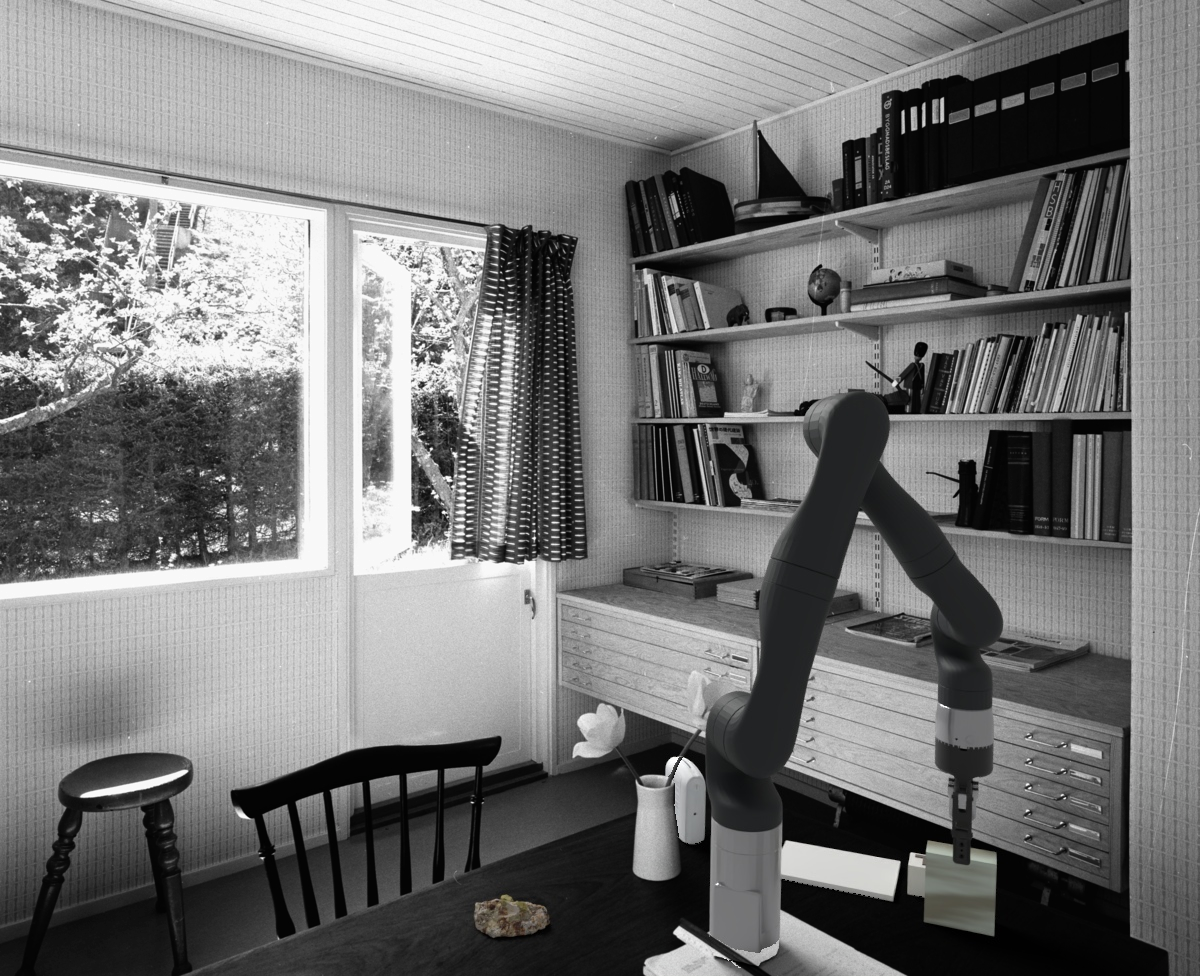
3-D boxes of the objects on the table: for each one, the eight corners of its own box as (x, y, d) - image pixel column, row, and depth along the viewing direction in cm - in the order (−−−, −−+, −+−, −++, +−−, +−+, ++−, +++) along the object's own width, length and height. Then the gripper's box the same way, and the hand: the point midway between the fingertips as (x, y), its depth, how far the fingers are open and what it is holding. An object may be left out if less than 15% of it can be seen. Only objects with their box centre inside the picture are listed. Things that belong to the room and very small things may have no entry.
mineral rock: (465, 923, 121) (479, 879, 129) (466, 949, 122) (480, 904, 130) (544, 931, 120) (554, 887, 127) (545, 957, 121) (554, 911, 129)
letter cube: (939, 901, 132) (940, 869, 132) (907, 894, 134) (908, 863, 134) (941, 887, 137) (942, 856, 136) (909, 881, 138) (910, 851, 138)
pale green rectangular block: (994, 936, 123) (996, 864, 122) (923, 922, 126) (925, 852, 126) (993, 922, 127) (996, 852, 126) (925, 908, 130) (927, 840, 130)
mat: (892, 901, 132) (893, 896, 132) (770, 877, 139) (770, 872, 139) (900, 866, 143) (900, 861, 143) (786, 845, 150) (786, 840, 150)
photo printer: (708, 843, 151) (709, 770, 150) (684, 846, 149) (685, 772, 149) (684, 818, 160) (685, 749, 160) (661, 821, 159) (662, 751, 158)
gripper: (937, 717, 133) (935, 825, 134) (932, 748, 120) (930, 867, 121) (993, 723, 130) (991, 833, 131) (994, 756, 117) (992, 878, 118)
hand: (962, 849), depth 126 cm, fingers open, 8 cm apart
